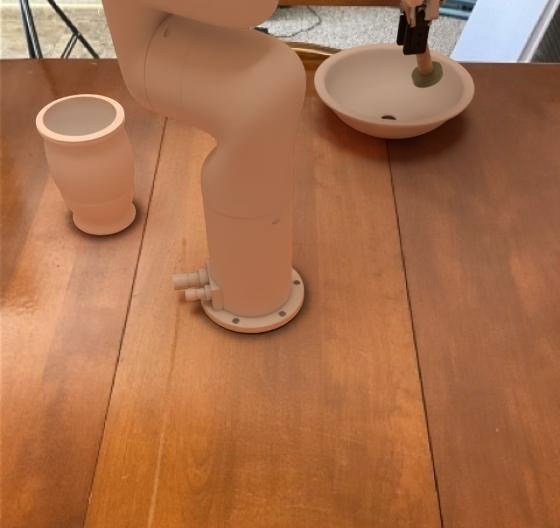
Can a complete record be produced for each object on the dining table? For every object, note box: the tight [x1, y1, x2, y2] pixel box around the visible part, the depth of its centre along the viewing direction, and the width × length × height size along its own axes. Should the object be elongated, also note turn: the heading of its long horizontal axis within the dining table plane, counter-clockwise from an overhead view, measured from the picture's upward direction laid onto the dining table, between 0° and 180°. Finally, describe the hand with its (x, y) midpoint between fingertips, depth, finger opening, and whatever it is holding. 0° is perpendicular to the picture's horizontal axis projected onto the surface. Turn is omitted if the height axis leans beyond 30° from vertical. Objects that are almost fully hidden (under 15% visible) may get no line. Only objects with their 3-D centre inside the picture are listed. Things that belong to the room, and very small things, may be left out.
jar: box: [35, 93, 137, 236], centre depth 87 cm, size 11×10×15 cm
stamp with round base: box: [403, 0, 443, 88], centre depth 93 cm, size 4×4×14 cm
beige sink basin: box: [313, 42, 475, 140], centre depth 105 cm, size 24×24×7 cm
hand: (410, 47), depth 95 cm, fingers closed on stamp with round base, 2 cm apart
